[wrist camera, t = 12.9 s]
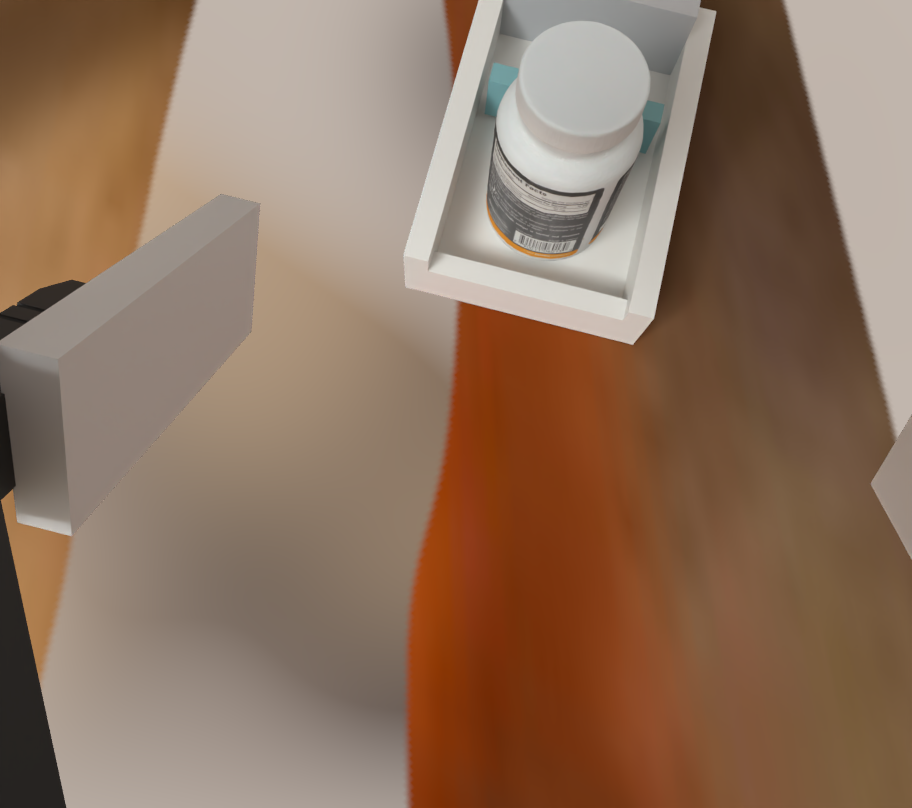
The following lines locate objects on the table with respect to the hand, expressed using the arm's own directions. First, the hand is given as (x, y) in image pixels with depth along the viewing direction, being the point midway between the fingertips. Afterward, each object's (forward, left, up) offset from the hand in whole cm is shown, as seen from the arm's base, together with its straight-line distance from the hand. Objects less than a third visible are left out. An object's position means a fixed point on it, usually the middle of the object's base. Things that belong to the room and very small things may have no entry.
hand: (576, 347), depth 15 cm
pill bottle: (-3, +13, -19) cm, 23 cm away
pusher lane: (-4, +16, -20) cm, 26 cm away
